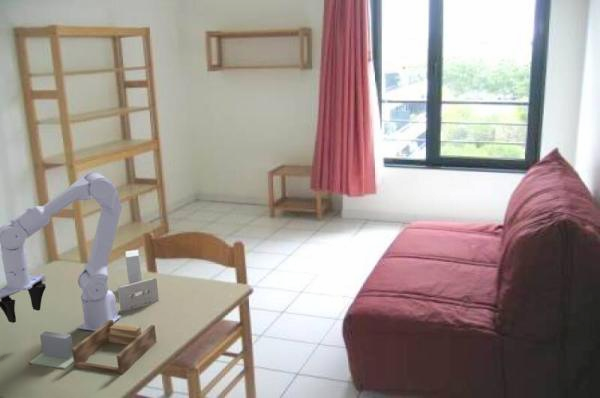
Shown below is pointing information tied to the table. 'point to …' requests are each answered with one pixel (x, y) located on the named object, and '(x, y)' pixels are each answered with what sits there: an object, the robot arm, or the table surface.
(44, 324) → the table surface
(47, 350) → the grey rectangular box
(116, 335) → the offcut
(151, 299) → the cassette
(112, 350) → the table surface
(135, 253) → the skincare box
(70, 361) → the mat
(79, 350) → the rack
